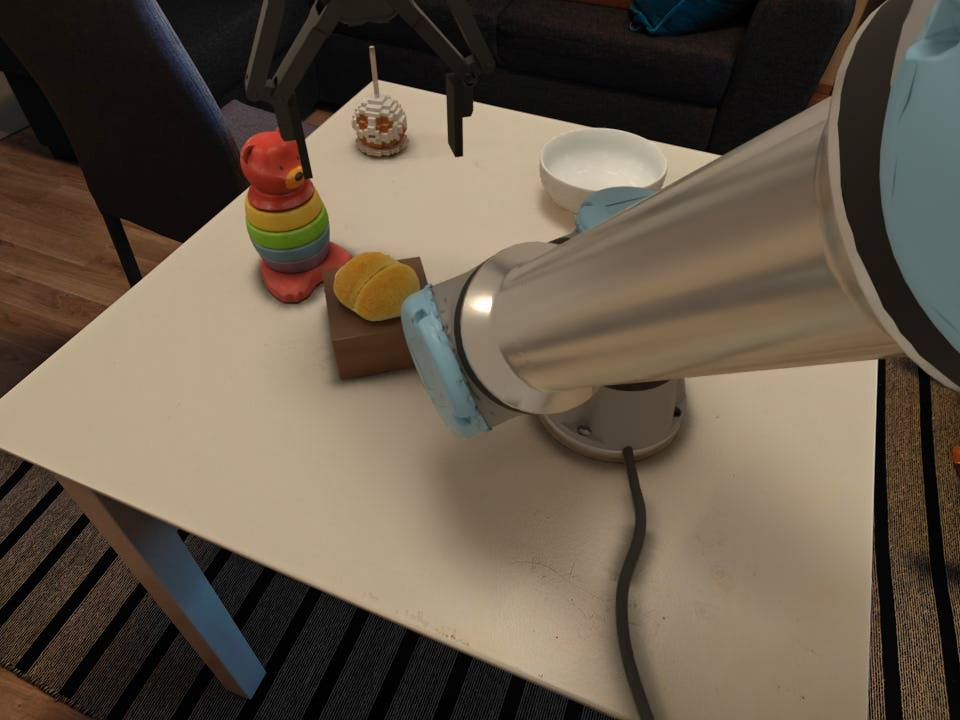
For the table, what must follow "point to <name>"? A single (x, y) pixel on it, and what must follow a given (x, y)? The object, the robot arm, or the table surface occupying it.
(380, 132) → the decorative ornament
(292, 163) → the stacking bear
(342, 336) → the walnut block
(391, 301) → the bread roll
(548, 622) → the table surface
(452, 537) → the table surface
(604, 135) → the cereal bowl
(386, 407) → the table surface
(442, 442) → the table surface
